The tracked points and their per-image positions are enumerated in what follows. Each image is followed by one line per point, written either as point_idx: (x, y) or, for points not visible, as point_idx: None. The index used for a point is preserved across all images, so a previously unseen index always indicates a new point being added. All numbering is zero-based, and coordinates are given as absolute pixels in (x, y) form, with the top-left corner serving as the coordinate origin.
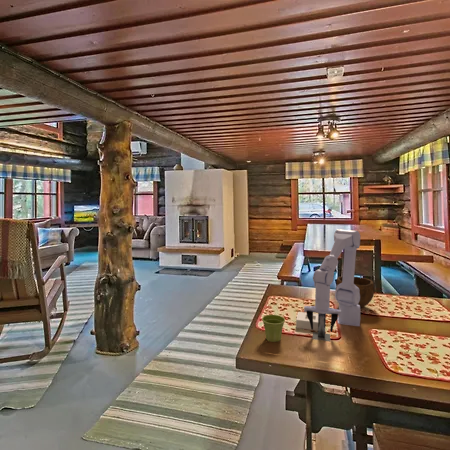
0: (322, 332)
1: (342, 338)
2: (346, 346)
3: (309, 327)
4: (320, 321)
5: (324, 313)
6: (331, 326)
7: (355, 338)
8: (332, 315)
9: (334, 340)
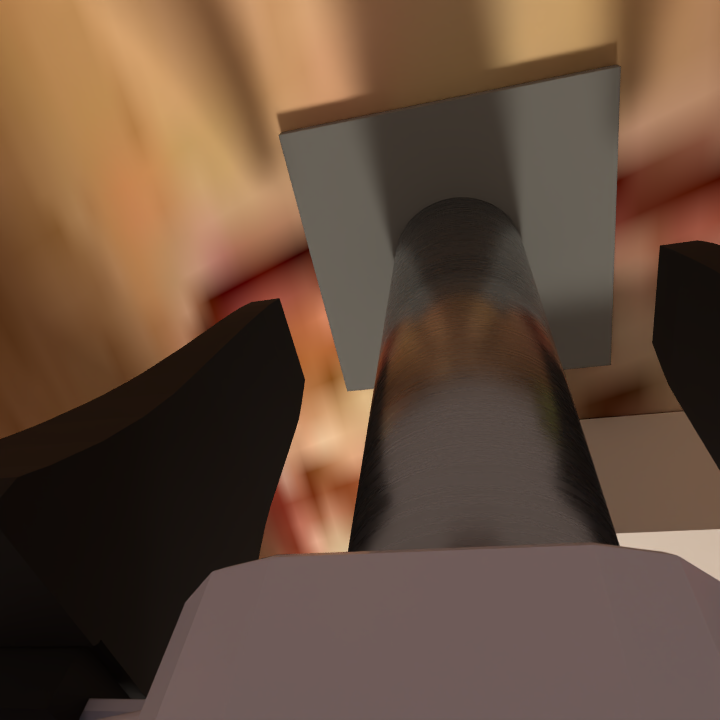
0: (433, 244)
1: (170, 346)
2: (13, 104)
3: (685, 442)
4: (505, 382)
5: (186, 607)
6: (213, 349)
7: (45, 408)
8: (55, 643)
9: (243, 234)
